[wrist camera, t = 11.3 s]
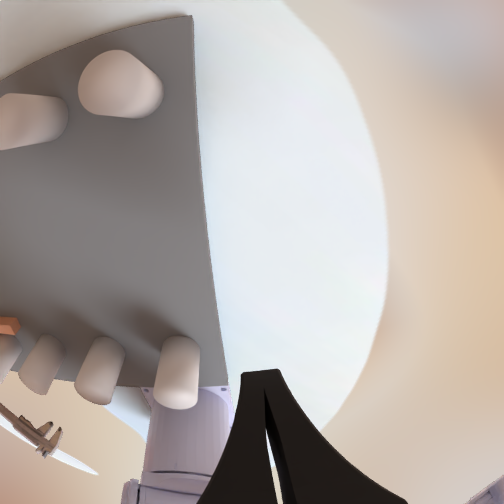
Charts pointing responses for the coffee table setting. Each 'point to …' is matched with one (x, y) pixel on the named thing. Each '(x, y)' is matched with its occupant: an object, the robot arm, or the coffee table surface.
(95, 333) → the plate
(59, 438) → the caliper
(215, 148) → the coffee table surface
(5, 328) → the parts bay
